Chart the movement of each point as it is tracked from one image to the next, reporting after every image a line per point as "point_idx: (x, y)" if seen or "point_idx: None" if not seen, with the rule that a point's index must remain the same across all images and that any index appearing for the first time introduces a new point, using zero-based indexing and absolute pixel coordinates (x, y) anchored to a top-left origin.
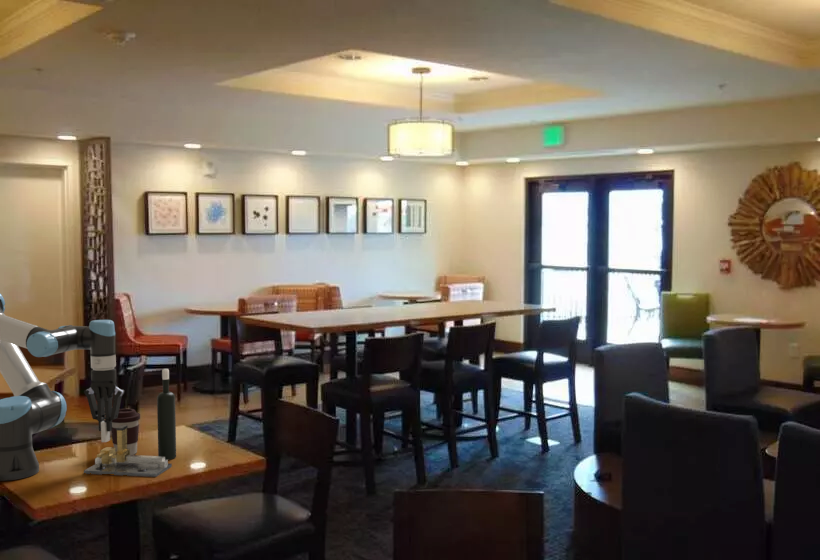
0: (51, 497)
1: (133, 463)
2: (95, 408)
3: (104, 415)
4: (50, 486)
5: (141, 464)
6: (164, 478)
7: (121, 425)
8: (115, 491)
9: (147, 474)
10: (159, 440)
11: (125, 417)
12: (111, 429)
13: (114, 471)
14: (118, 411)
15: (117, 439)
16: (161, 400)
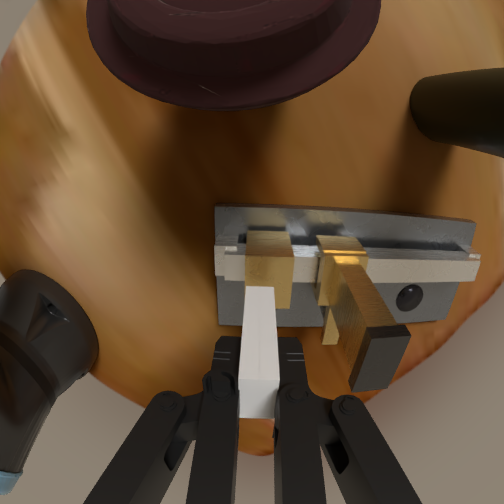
0: (248, 434)
1: (364, 233)
2: (159, 484)
3: (236, 420)
4: None
5: (395, 242)
6: (458, 317)
7: (372, 345)
8: (366, 401)
9: (424, 319)
10: (469, 141)
11: (294, 59)
12: (299, 347)
13: None
14: (384, 445)
15: (342, 341)
16: None
